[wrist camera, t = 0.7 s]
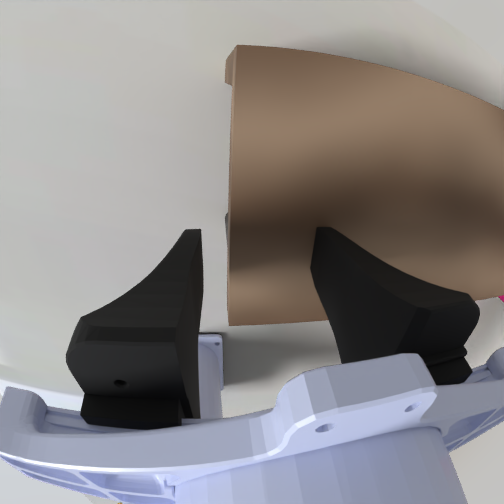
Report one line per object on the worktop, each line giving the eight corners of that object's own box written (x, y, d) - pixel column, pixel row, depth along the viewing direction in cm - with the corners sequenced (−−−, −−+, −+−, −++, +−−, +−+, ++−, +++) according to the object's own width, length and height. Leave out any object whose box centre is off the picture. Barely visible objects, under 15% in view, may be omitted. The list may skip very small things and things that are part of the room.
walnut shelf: (452, 230, 26) (516, 292, 18) (221, 227, 23) (228, 325, 15) (481, 111, 20) (568, 148, 11) (226, 60, 17) (237, 44, 8)
